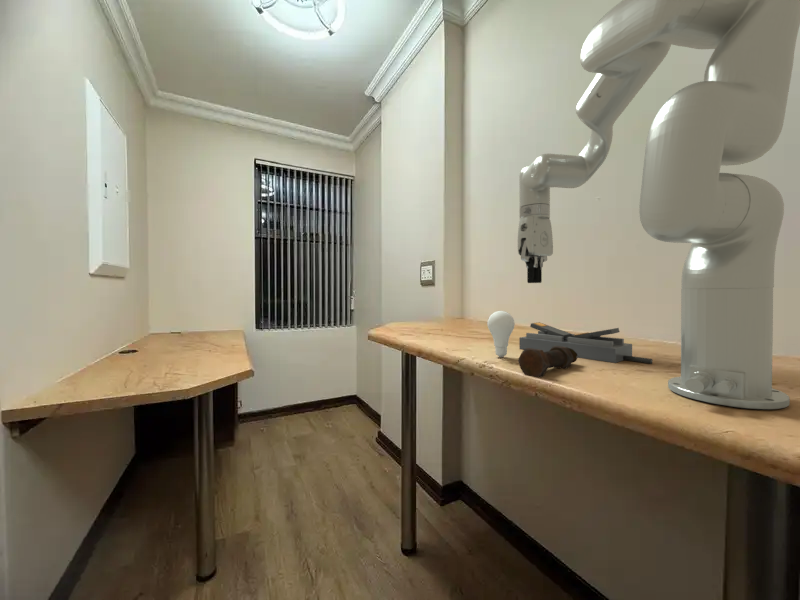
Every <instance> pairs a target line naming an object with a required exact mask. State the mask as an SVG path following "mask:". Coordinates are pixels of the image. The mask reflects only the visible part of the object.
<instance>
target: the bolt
mask: <svg viewBox="0 0 800 600" xmlns="http://www.w3.org/2000/svg"><path fill="white" fill-rule="evenodd" d="M577 360H578V357H577V353H576V352H575V351H574V350H573V349H571V348H568V347H563V346H553V347H552V348H551V349H550V350H549V351H546V352H544V351H543V350H540V349H532V348H525V349H523V350H522V352H521V353H520V355H519V357H518V360H517V362H518V364H519V365H518V366H519V368H520V370H521V372H522V373H523V374H524V375H526V376H530V377H534V378H535V377H536V378H542V377H544V376H545V374H546V372H547V371H548V369H552V368H556V369H568V368H570V366H571V365H572V364H573V363H575V362H576V361H577Z"/></svg>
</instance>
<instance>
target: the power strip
mask: <svg viewBox="0 0 800 600" xmlns="http://www.w3.org/2000/svg"><path fill="white" fill-rule="evenodd" d="M525 335H526V336H522V337H519V339H518V340H519V341H518V343H519V350H524V349H525V348H532V349H540V350H543V351H544V352H546V351H549V350H550V349H551V348H552V347H553V346H563V347H568V348H571V349H573V350H574V351H575V352H576V353H577V359H578V358H580V359H586V360H593V361H599V362H600V361H601V362H605V363H606V362H607V363H613V364H614V363H615V364H617V363H620V362H622V361H627V362H629V361H630V362H637V363H643V364H653V358H649V357H640V356H633V344H632V343H628V342H627V343H626V342H625V339H624V338H619V337H611V336H610V337H609V336H608V337H607V336H600V337H596V338H574V337H568V338H565V339H563V336H555V335H550V334H545V333H544V332H542V331H540V330H537V333H534V332H533V333H532V332H526V334H525ZM574 335H576V334H575V333H571V336H574Z"/></svg>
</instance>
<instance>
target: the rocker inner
mask: <svg viewBox="0 0 800 600" xmlns="http://www.w3.org/2000/svg"><path fill="white" fill-rule="evenodd" d="M617 333H620V329H619V327H617V328H616V327H615V328H610V329H604V330H599V331H598V330H597V331H591V332H581V333H577V334H575V335H574V336H571V337H574V338H596V337H603V336H607V335H613V334H617Z"/></svg>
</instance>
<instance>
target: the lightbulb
mask: <svg viewBox="0 0 800 600" xmlns="http://www.w3.org/2000/svg"><path fill="white" fill-rule="evenodd" d="M515 323H516V322H515V319H514V317H513V315H511V313H509V312H507V311H505V310H498V311H497V310H496V311H494V312H493V313H491V314H490V315H489V317H488V319H487V328H488V331H489V333H490V334H491V336H492V339H493V345H494V348H495V349H494V350H495V355H497V356H498V357H499V358H504V357H505V356H507V354H508V346H509V340H510V337H511V334H512V333H513V331H514V329H515V326H516V325H515Z"/></svg>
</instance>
